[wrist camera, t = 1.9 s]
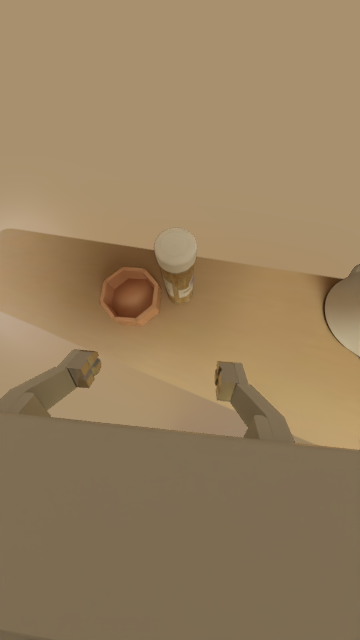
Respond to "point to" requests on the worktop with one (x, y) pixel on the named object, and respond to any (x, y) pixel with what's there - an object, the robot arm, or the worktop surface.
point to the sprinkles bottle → (177, 262)
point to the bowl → (131, 296)
